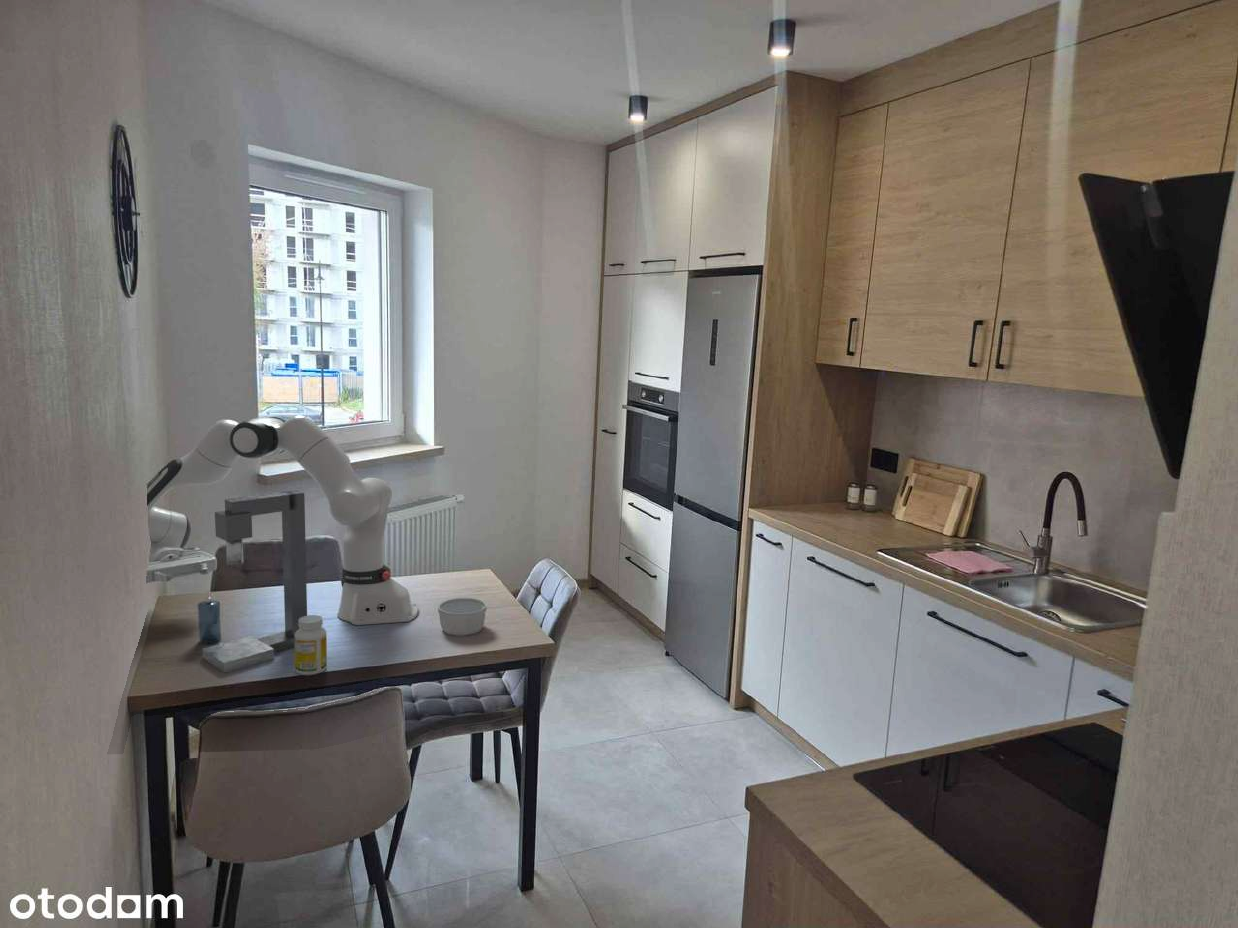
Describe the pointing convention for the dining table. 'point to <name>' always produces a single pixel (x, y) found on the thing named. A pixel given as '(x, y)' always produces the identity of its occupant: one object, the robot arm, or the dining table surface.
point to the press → (239, 526)
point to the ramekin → (462, 616)
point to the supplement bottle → (310, 646)
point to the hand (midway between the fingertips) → (187, 575)
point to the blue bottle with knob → (209, 621)
